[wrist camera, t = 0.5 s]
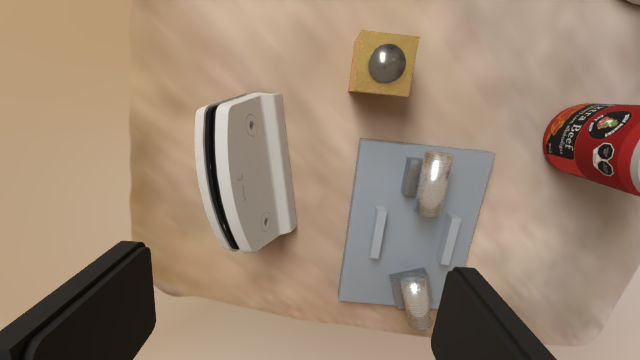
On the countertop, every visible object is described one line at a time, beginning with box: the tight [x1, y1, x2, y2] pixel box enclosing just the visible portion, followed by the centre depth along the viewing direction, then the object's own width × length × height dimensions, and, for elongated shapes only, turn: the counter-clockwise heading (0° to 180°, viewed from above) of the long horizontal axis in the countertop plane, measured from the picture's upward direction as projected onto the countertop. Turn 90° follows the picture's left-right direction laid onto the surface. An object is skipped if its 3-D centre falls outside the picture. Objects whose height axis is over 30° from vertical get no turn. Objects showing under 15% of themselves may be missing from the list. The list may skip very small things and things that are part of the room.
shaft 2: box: [389, 267, 433, 330], centre depth 36 cm, size 6×4×6 cm
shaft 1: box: [401, 151, 454, 218], centre depth 32 cm, size 6×4×6 cm
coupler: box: [348, 30, 419, 97], centre depth 29 cm, size 5×5×7 cm
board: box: [338, 138, 495, 309], centre depth 36 cm, size 21×15×3 cm
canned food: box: [543, 103, 640, 196], centre depth 29 cm, size 8×8×11 cm
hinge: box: [195, 92, 297, 253], centre depth 31 cm, size 17×5×10 cm, turn 5°
